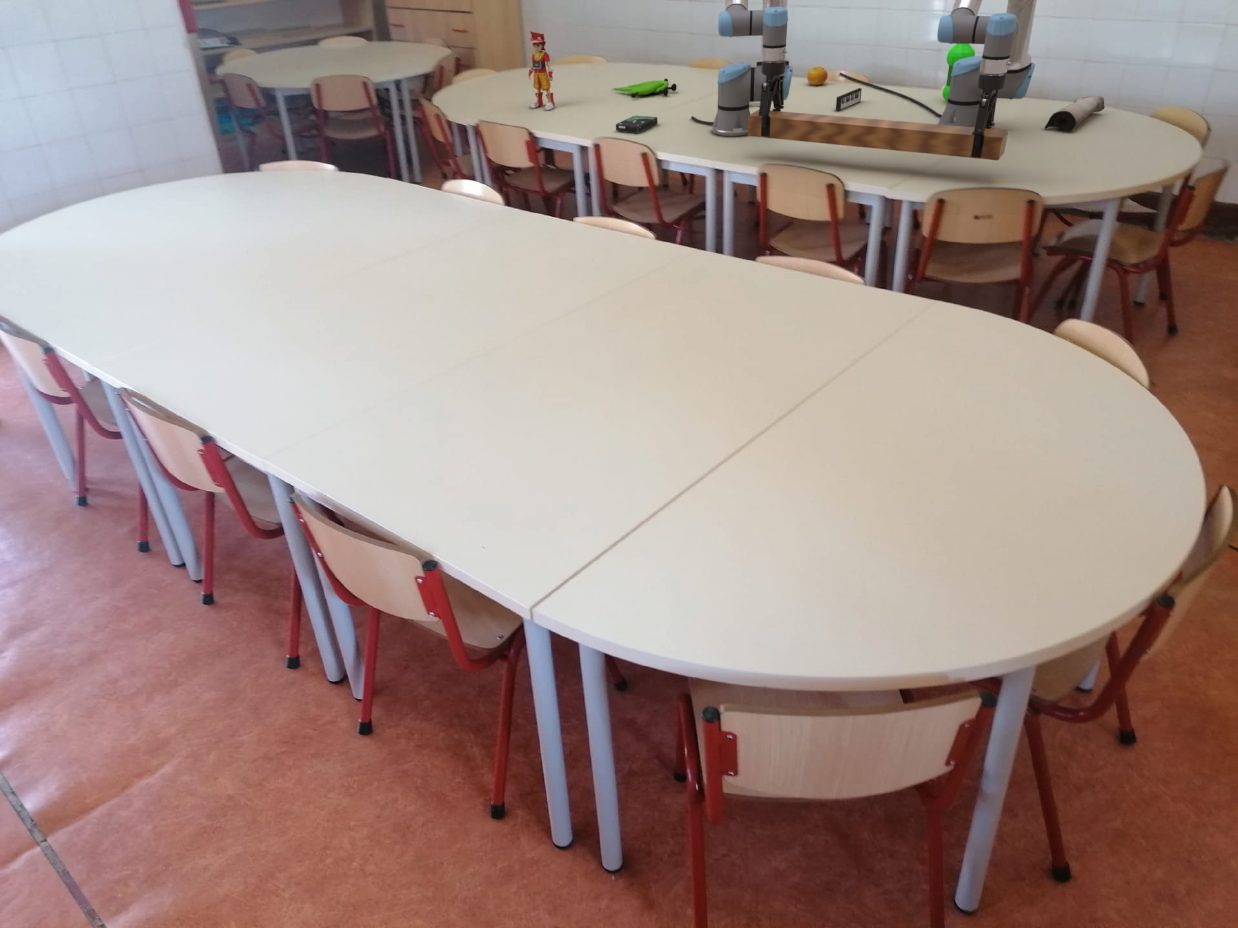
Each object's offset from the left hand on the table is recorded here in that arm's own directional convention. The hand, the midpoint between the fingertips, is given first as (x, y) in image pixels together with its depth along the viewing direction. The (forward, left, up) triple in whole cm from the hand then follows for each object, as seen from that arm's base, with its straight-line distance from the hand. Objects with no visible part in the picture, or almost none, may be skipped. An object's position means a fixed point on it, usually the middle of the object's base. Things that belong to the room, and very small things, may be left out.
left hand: (770, 132), depth 303 cm
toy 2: (-91, +71, -8) cm, 116 cm away
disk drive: (-62, +18, -8) cm, 66 cm away
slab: (+34, 0, -1) cm, 34 cm away
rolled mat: (+86, +78, -8) cm, 116 cm away
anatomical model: (-38, +67, -8) cm, 78 cm away
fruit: (-22, +107, -8) cm, 109 cm away
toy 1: (-118, +33, -8) cm, 123 cm away
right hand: (+68, 0, 0) cm, 68 cm away
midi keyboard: (+3, +75, -8) cm, 75 cm away
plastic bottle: (+39, +93, -8) cm, 102 cm away
